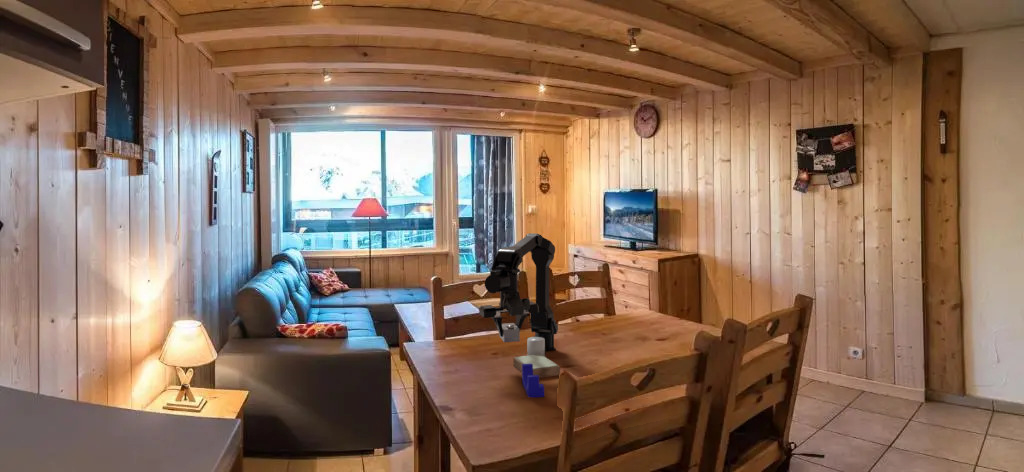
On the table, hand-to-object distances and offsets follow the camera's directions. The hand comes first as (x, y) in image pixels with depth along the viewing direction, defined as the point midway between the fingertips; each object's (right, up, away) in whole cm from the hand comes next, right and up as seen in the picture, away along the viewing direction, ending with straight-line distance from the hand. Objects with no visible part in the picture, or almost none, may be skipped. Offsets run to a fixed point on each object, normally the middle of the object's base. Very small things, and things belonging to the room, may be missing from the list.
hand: (509, 335), depth 173 cm
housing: (0, -1, 0) cm, 1 cm away
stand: (+9, -11, 0) cm, 14 cm away
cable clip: (+7, -13, -17) cm, 23 cm away
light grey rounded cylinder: (+9, -10, +12) cm, 18 cm away
